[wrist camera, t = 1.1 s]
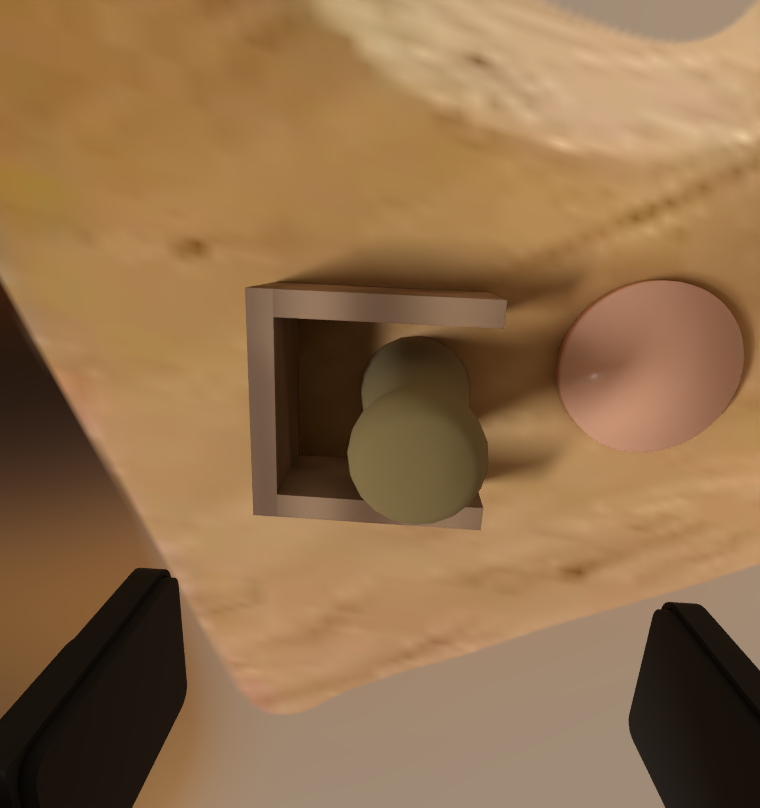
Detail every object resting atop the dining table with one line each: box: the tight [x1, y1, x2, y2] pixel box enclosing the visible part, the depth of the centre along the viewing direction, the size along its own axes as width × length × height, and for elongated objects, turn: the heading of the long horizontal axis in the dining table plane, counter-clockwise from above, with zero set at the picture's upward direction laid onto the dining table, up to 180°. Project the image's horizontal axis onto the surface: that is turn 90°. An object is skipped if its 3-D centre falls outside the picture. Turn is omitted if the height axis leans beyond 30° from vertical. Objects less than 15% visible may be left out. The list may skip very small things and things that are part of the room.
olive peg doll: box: [347, 336, 488, 525], centre depth 22 cm, size 6×6×11 cm
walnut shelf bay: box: [245, 282, 507, 530], centre depth 25 cm, size 11×11×5 cm
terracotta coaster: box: [556, 280, 744, 452], centre depth 25 cm, size 9×9×1 cm
